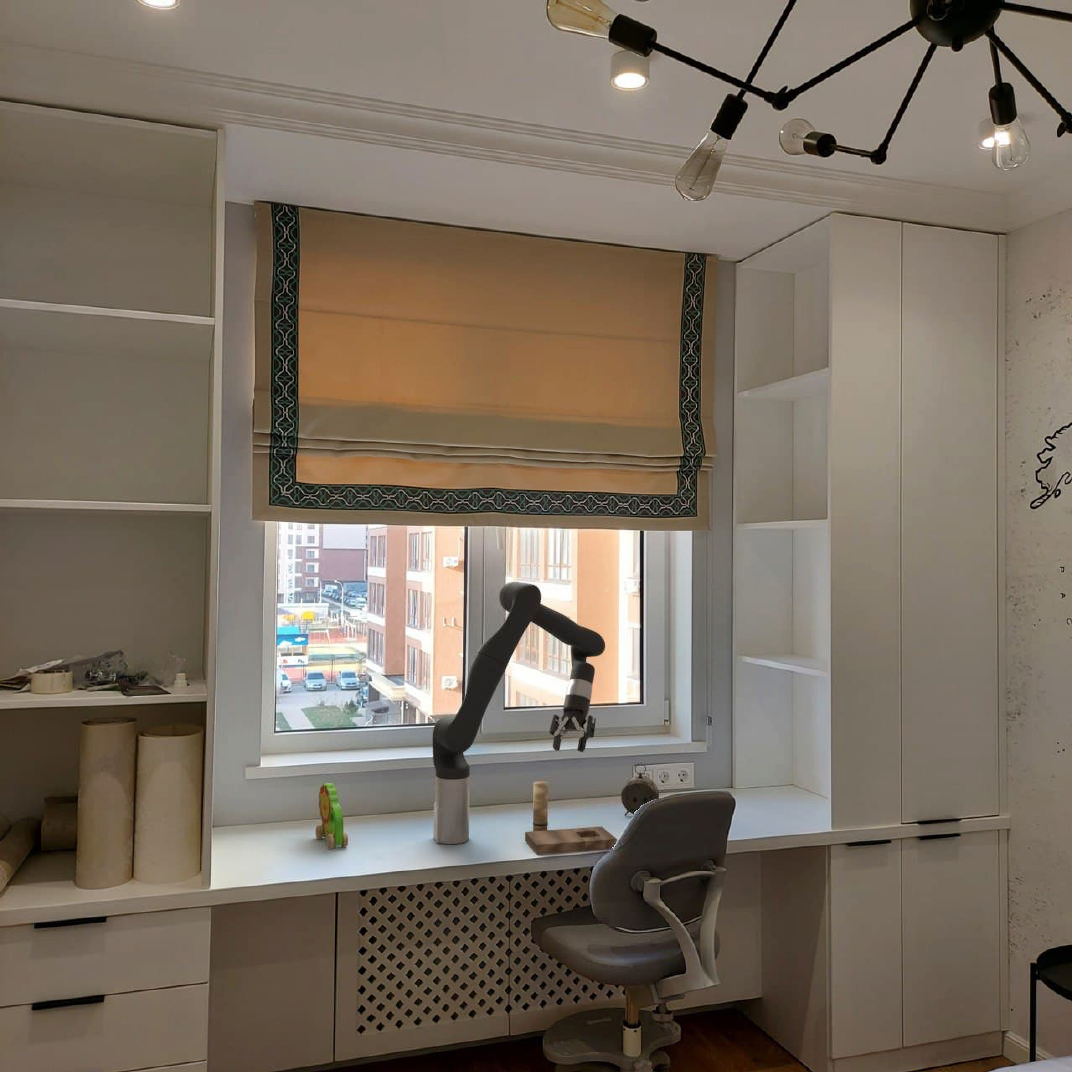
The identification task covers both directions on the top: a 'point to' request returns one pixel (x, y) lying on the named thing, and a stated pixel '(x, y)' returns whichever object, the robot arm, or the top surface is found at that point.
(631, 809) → the alarm clock
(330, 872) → the top surface
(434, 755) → the robot arm
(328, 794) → the toy lion
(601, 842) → the walnut board
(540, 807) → the oak peg
